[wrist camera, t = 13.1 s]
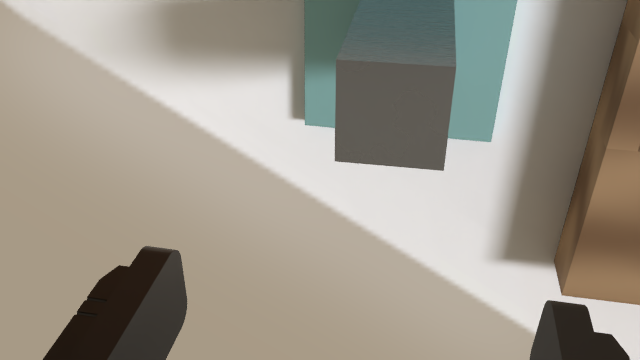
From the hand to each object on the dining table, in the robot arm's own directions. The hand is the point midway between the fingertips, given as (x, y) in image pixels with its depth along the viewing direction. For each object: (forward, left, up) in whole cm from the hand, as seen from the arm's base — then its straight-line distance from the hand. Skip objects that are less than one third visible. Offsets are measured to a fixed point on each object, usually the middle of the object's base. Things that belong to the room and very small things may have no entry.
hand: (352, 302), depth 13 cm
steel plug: (0, 0, -20) cm, 20 cm away
